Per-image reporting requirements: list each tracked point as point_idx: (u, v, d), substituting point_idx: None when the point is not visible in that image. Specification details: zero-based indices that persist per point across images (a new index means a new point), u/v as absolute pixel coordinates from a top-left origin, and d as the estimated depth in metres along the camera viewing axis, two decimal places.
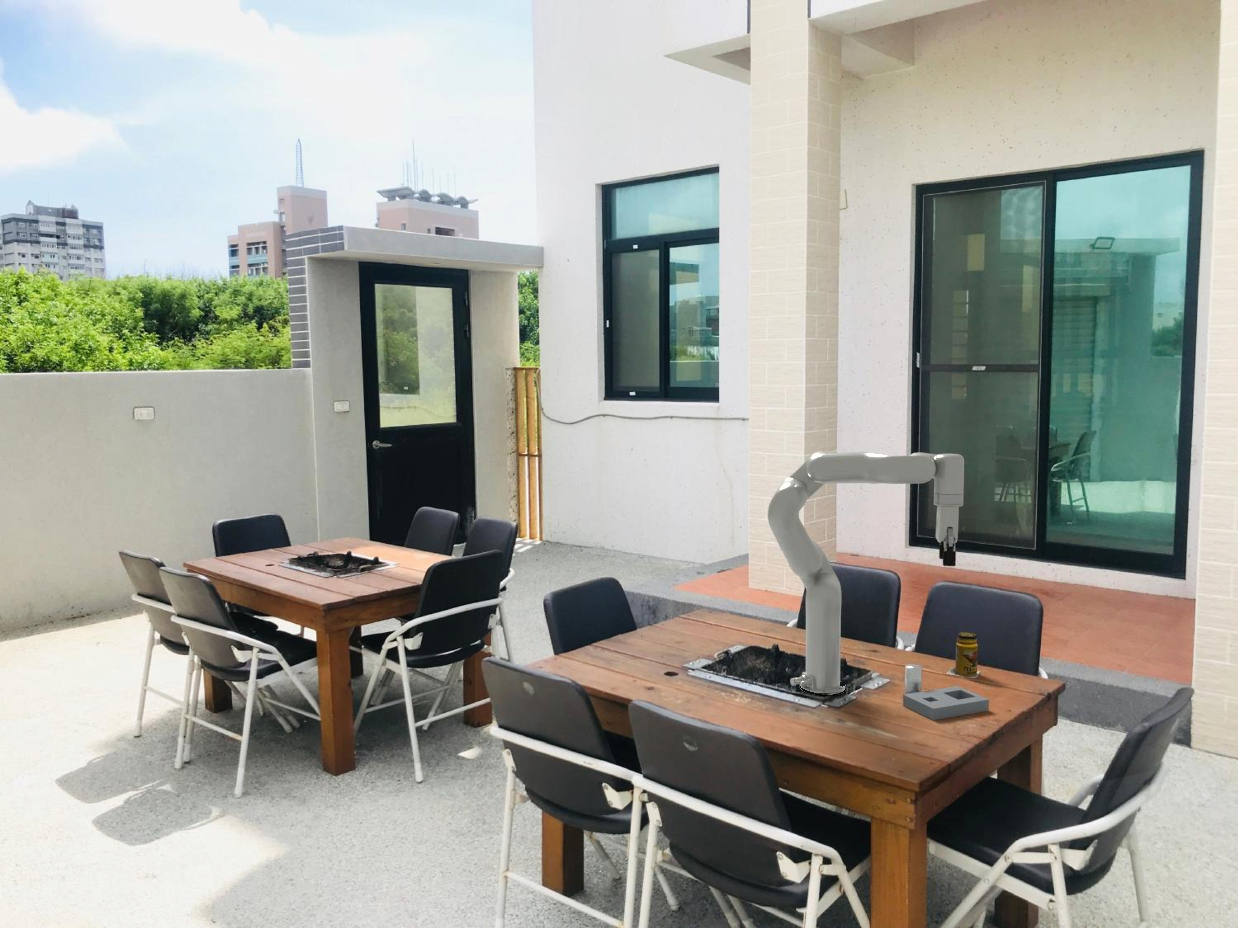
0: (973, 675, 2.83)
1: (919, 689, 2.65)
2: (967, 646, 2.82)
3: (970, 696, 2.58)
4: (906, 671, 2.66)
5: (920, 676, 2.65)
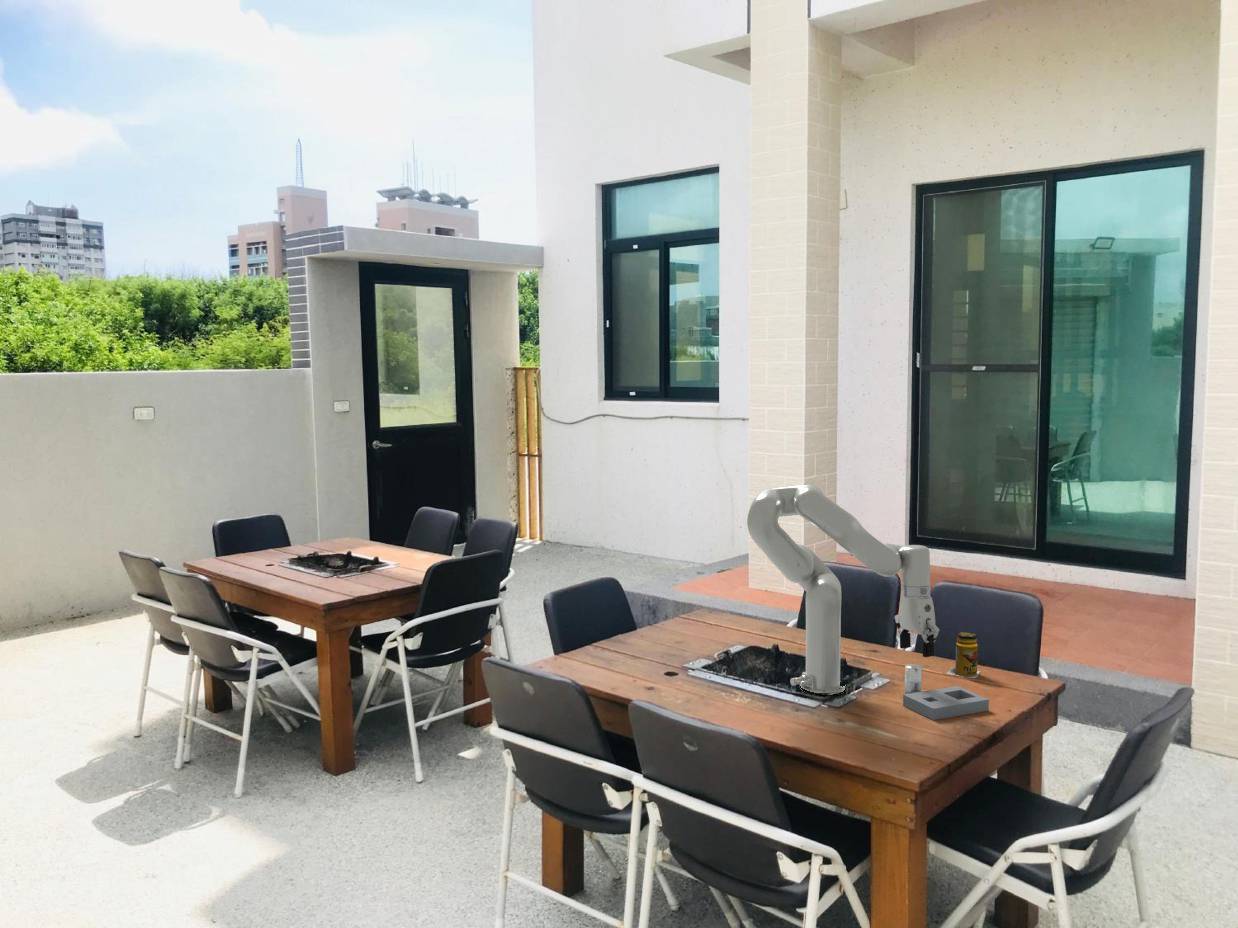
0: (973, 675, 2.83)
1: (919, 689, 2.65)
2: (967, 646, 2.82)
3: (970, 696, 2.58)
4: (906, 671, 2.66)
5: (920, 676, 2.65)
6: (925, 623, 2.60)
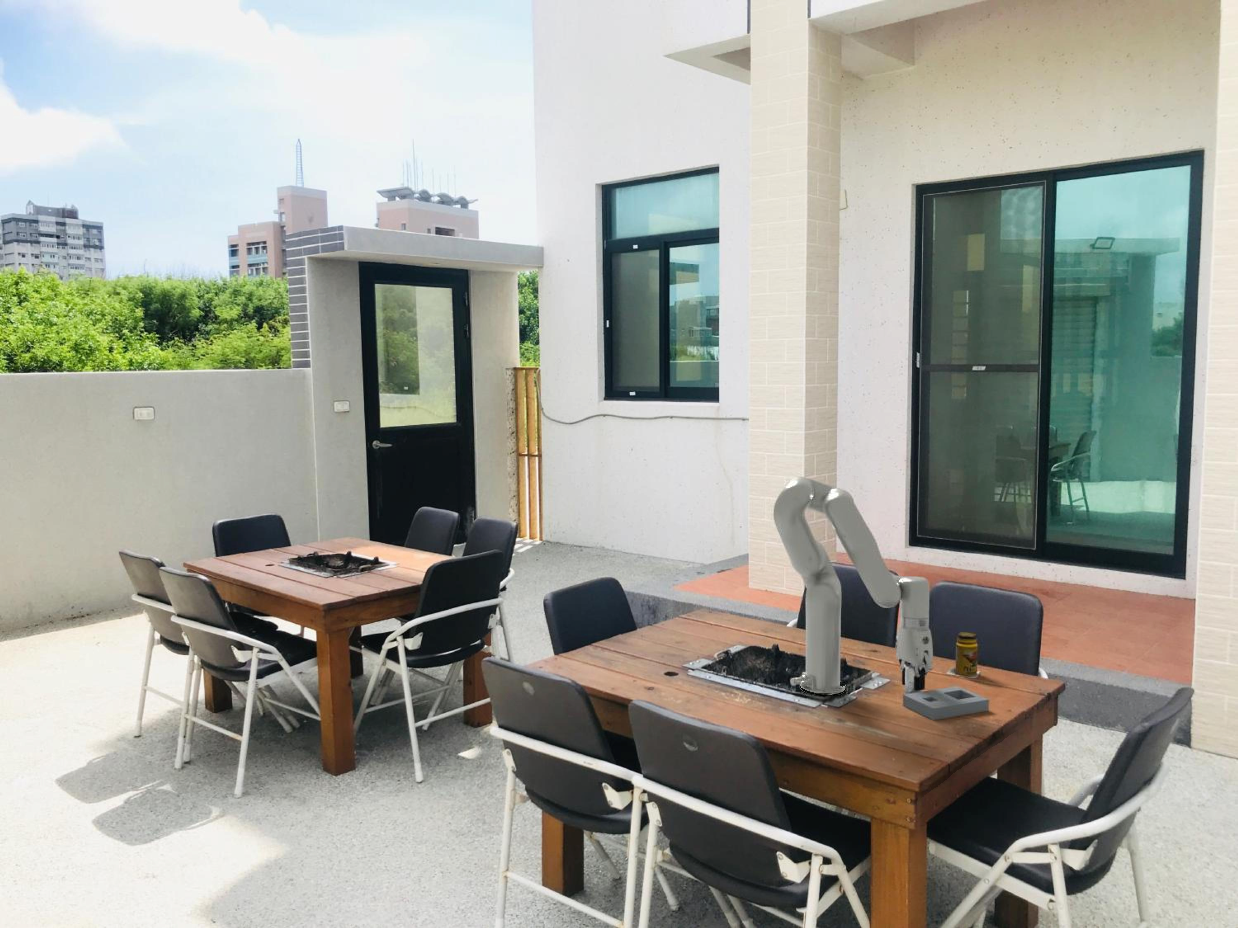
0: (973, 675, 2.83)
1: None
2: (968, 646, 2.82)
3: (970, 696, 2.58)
4: (906, 671, 2.66)
5: None
6: (923, 655, 2.61)
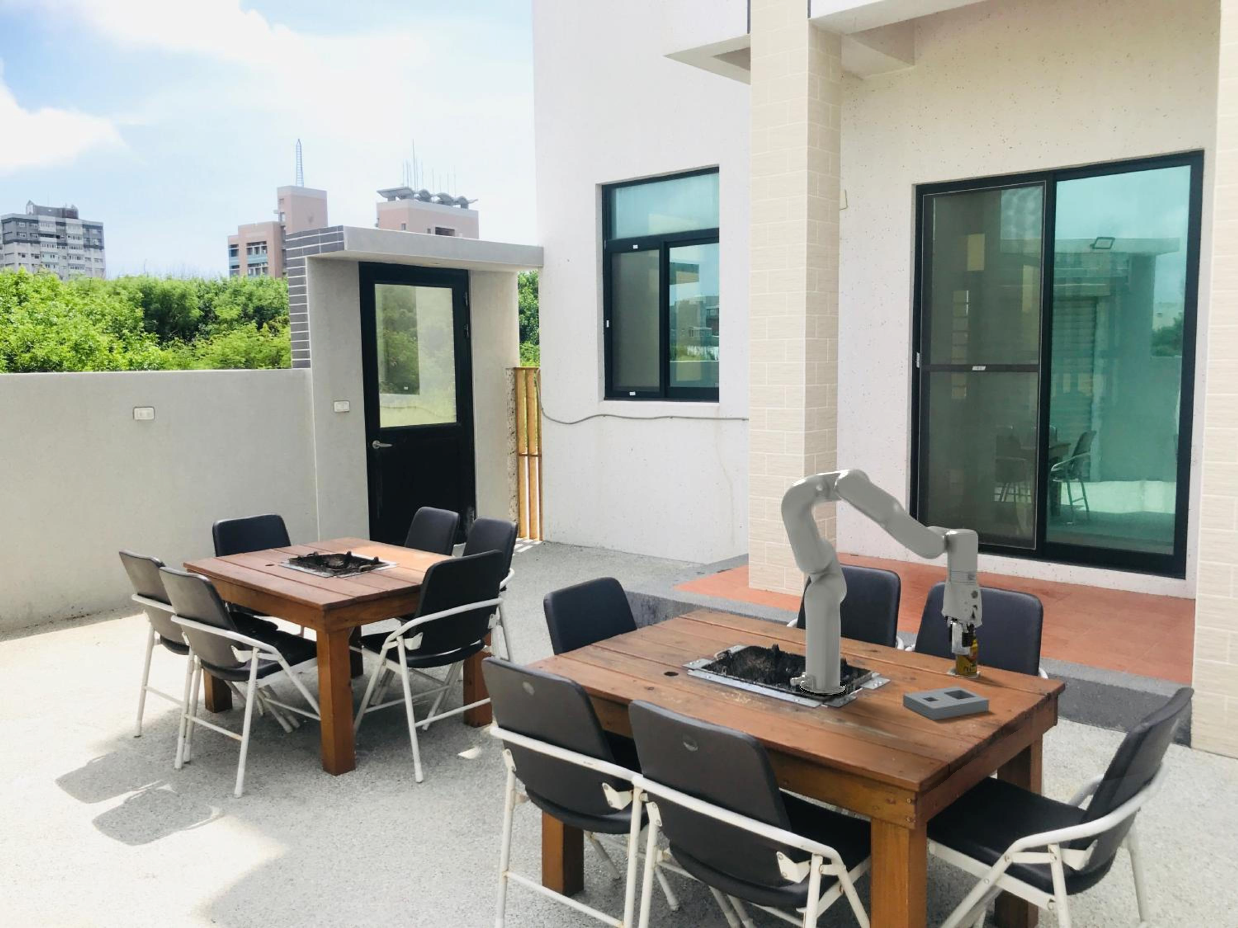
0: (973, 675, 2.83)
1: None
2: None
3: (970, 696, 2.58)
4: (953, 627, 2.56)
5: None
6: (971, 610, 2.51)
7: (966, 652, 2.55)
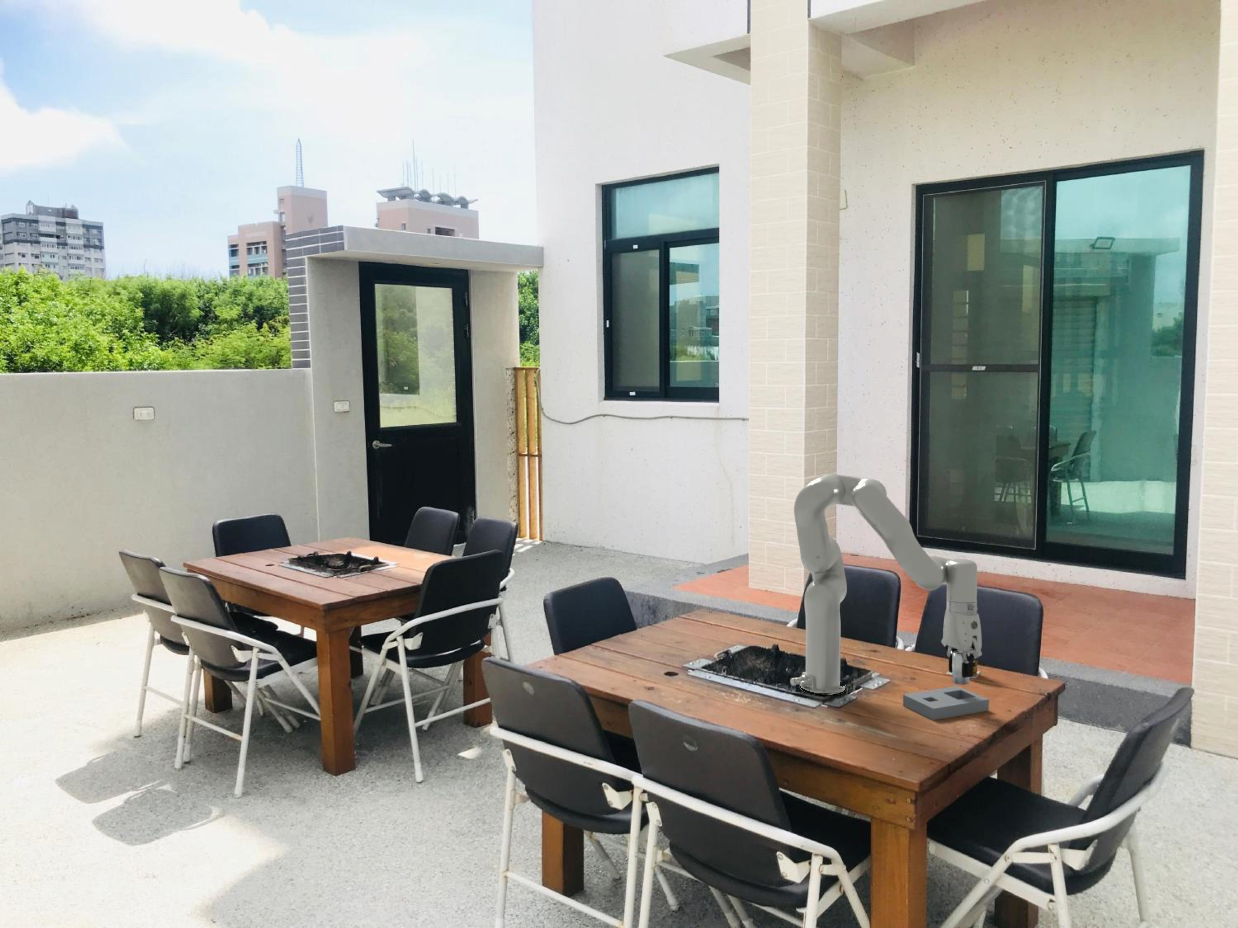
0: (973, 675, 2.83)
1: None
2: None
3: (970, 696, 2.58)
4: (953, 657, 2.56)
5: None
6: (971, 640, 2.51)
7: (966, 682, 2.55)
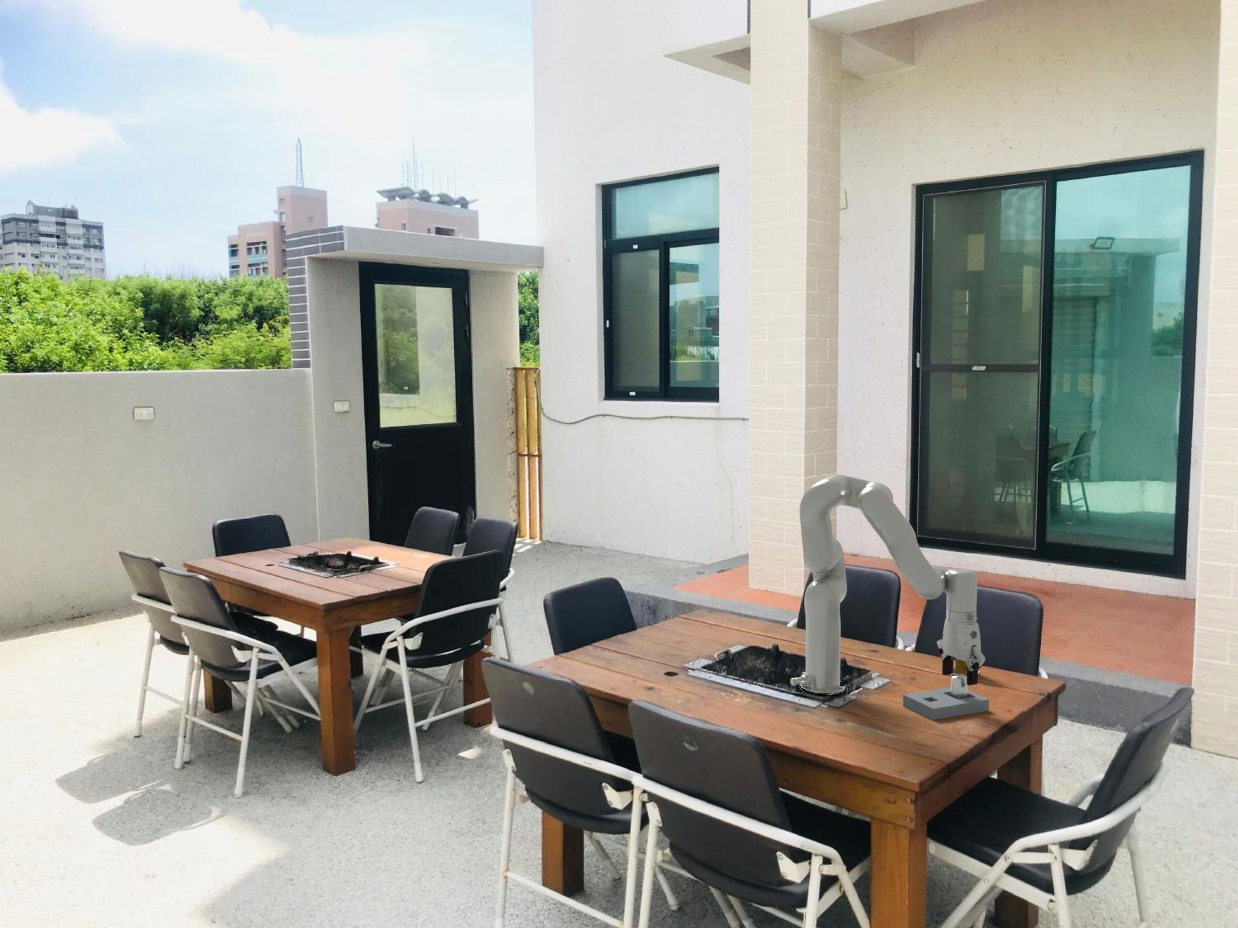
0: None
1: None
2: None
3: (970, 696, 2.58)
4: (952, 681, 2.57)
5: (966, 686, 2.56)
6: (971, 650, 2.52)
7: None
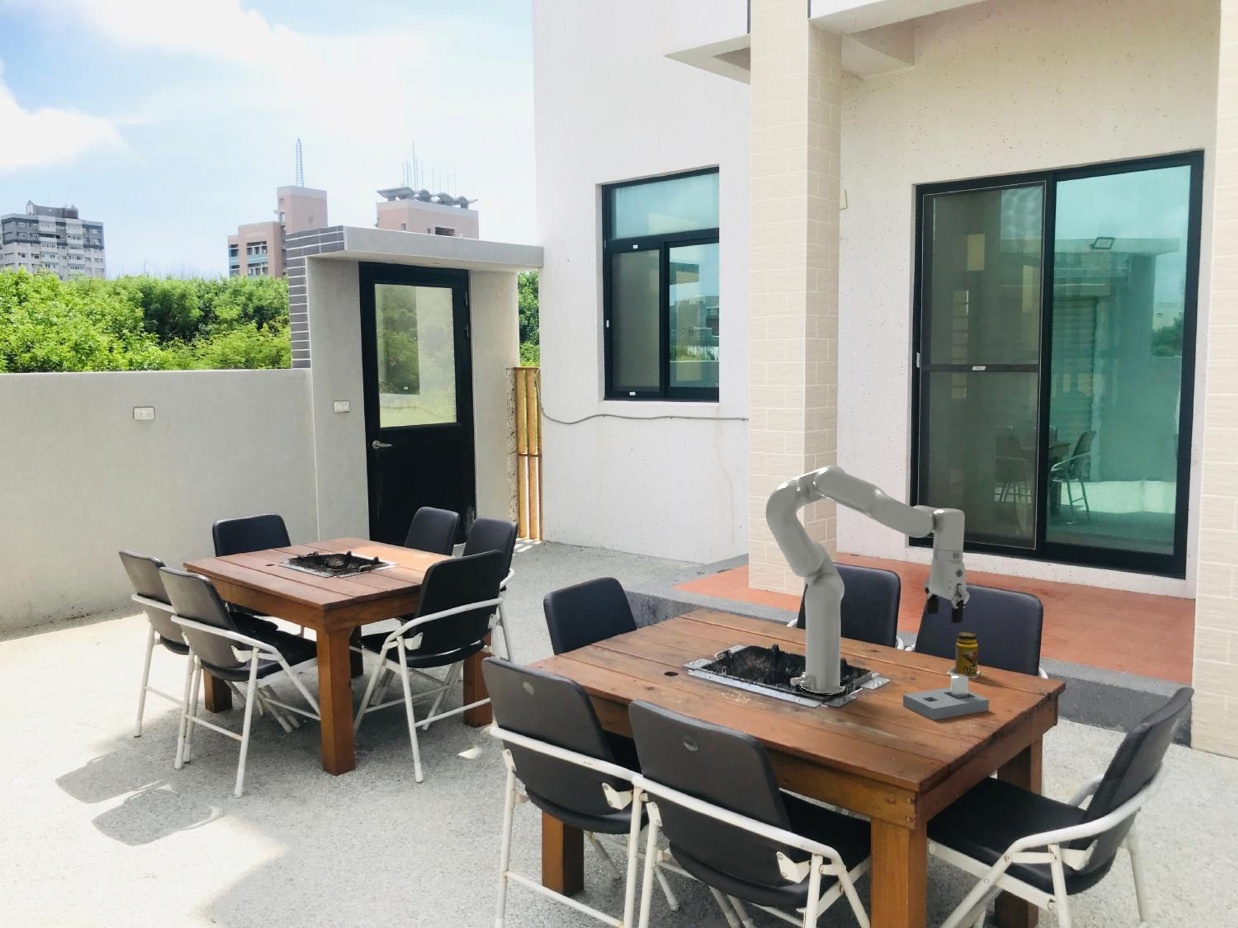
0: (973, 675, 2.83)
1: None
2: (968, 646, 2.82)
3: (970, 696, 2.58)
4: (952, 681, 2.57)
5: (966, 686, 2.56)
6: (955, 588, 2.54)
7: None
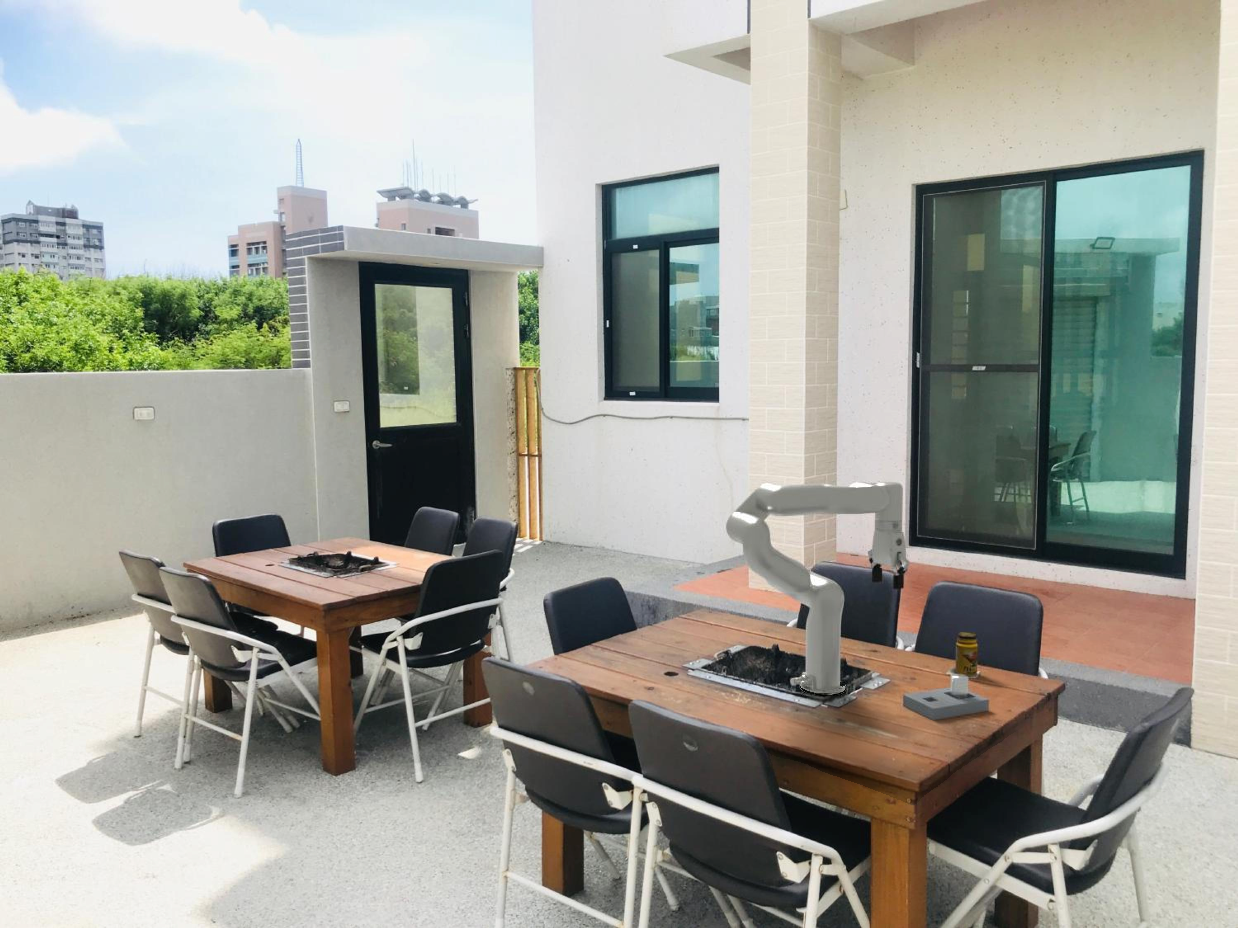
0: (973, 675, 2.83)
1: None
2: (968, 646, 2.82)
3: (970, 696, 2.58)
4: (952, 681, 2.57)
5: (966, 686, 2.56)
6: (896, 556, 2.70)
7: None
